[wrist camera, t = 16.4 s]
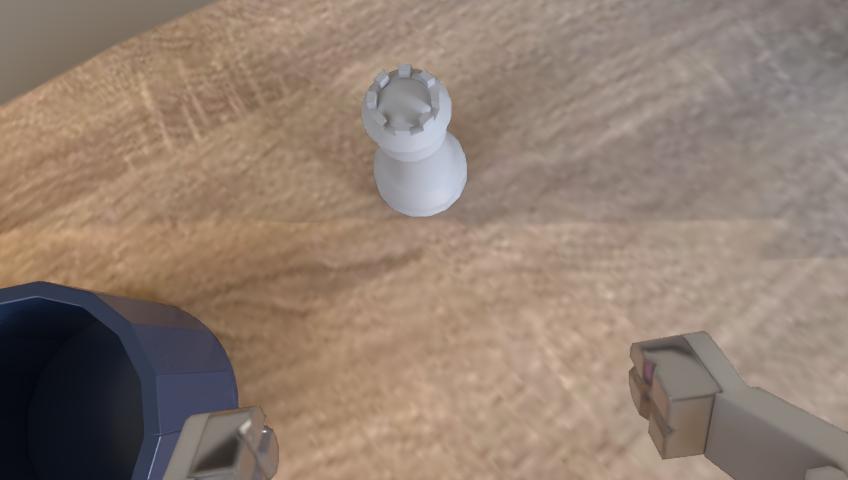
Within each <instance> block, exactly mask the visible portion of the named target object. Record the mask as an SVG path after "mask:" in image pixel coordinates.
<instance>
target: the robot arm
mask: <svg viewBox="0 0 848 480" xmlns="http://www.w3.org/2000/svg"><path fill="white" fill-rule="evenodd" d="M630 358H631V360H632V361H633V363H634V366H633V367H632V368H631V370H630V371H629V386H630V391H631V396H632V399H633V401H634V404H635V406H636V408H637V410H638V413H639V415H641V416H642V417H644V418H645V419H647V420H649V431H648V433H649V435H650V436H651V438H652V440H653V442H654V444H655V446H656V448H657V450H658V452H659V454H660V456H661V458H662V460H663V459H671V458H679V457H686V456H694V455H702V454H705V455H704V456H705V457H706V458H707V459H709V460H710V461H711V462H712V463H714V464H715V465H716V466H718V467H719V468H720V469H721V470H723V471H724V472H725V473H727V474H728V475H729V476H731V477H732V478H733V479H734V480H848V432H846V431H844V430H842V429H840V428H838V427H836V426H834V425H832V424H830V423H828V422H826V421H824V420H822V419H820V418H818V417H816V416H814V415H812V414H810V413H808V412H806V411H805V410H803V409H801V408H799V407H797V406H795V405H793V404H791V403H789V402H787V401H785V400H783V399H781V398H779V397H777V396H775V395H773V394H771V393H769V392H767V391H765V390H763V389H761V388H759V387H753V388H750V386H749V385H748V384H747V382H746V381H745V380H744V379H743V377H742V376H741V375H740V373H739V372H738V371H737V370H736V368H735V367H734V366H733V364H732V363H731V362H730V361H729V359H728V358H727V357H726V355H725V354H724V353H723V351H722V350H721V349H720V348H719V346H718V345H717V344H716V342H715V341H714V340H713V339H712V337H711V336H710V335H709V334H708V333H707V332H705V331H700V332H694V333H688V334H682V335H679V336H678V335H676V336H670V337H665V338H659V339H653V340H648V341H642V342H636V343H632V346H631V348H630ZM265 419H266V415H265V413H264V411H263V409H262V408H261V406H251V407H244V408H237V409H229V410H222V411H215V412H211V413H204V414H196V415H191V416H190V417H189V418H188V419H187V420H186V422H185V424H184V426H183V429H182V431H181V434H180V436H179V439H178V441H177V444H176V446H175V449H174V451H173V454H172V456H171V459H170V462H169V464H168V467H167V469H166V472H165V474H164V477H163V479H162V480H271V479H272V478H273V477H274V475H275V474H276V473H277V468H278V462H279V447H278V442H277V438H276V435H275V433H274V431H273V429H271V428H269V427H267V426H266V425H264V424H265Z"/></svg>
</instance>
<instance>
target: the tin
mask: <svg viewBox="0 0 848 480" xmlns="http://www.w3.org/2000/svg"><path fill="white" fill-rule="evenodd" d="M237 408H238V392H237V386H236V380H235V376H234V373H233V369H232V366H231V363H230V361H229V359H228V357H227V354H226V352H225V350H224V349H223V347H222V346H221V344H220V342H219V341H218V339H217V338H216V337H215V336H214V335H213V333H212V332H211V331H210V330H209V329H208V328H207V327H206V326H205V325H204V324H202V323H201V322H200V321H199V320H198V319H196V318H194V317H193V316H191V315H190V314H188V313H186V312H184V311H182V310H180V309H179V308H176V307H174V306H169V305H165V304H160V303H155V302H151V301H146V300H141V299H136V298H131V297H126V296H120V295H115V294H109V293H104V292H99V291H93V290H88V289H82V288H77V287H72V286H66V285H61V284H55V283H50V282H45V281H37V282H32V283H27V284H22V285H18V286H13V287H8V288H3V289H0V480H162V479H163V477H164V474H165V472H166V469H167V467H168V464H169V462H170V459H171V456H172V454H173V451H174V449H175V446H176V444H177V441H178V439H179V436H180V434H181V431H182V429H183V426H184V424H185V422H186V420H187V419H188V418H189V417H190V416H191V415H196V414H204V413H211V412H215V411H222V410H229V409H237Z"/></svg>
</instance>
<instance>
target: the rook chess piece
mask: <svg viewBox="0 0 848 480" xmlns="http://www.w3.org/2000/svg"><path fill="white" fill-rule="evenodd" d="M397 66H398V70H395V71H392V72H390V73H386V72H385V70H384V69H383V70H382V71H381V72H380V73H379V74H378V75H377V76H376V77H375V78H373V79H374V83H373V84H372V85H371V86H370V87H369V89H368V91H367V93H366V95H365V97H364V99H363V101H362V112H361V119H362V122H363V125H364V127H365V130H366V132H367V134H368V135H369V136H370V137H371V138H372V139H373V140H374V141H375V142H376V143H377V144H378V145H379V147H378V149H377V151H376V153H375V156H374V169H373V175H374V178H375V182H376V185H377V188H378V190H379V193H380V195H381V197H382V198H383V199H384V200H385V201H386V202H387V203H388V204H389V205H390V206H391V207H392V208H393V209H394V210H396V211H398V212H401V213H403V214H406V215H408V216H431V215H434V214H436V213H439V212H441V211H444V210H446V209H447V208H448V207H449V206H451V205H452V204H453V203H454V202H455V201H456V200H457V199H458V198H459V197H460V195H461V192H462V190H463V188H464V186H465V183H466V181H467V162H466V160H465V154H464V152H463V150H462V148H461V145H460V143H459V141H458V140H457V139H456V138H455V137H454V136H453V135H452V134H451V133H450V132H449V131H448V130H447V129H446V128H447V125H448V123H449V121H450V119H451V99H450V97H449V95H448V92H447V90H446V88H445V86H444V85H443V84H442V83H441V82H440V81H439V80H438V79H437V78H436V77H434V76H433V75H432V74H430V73H429V72H428V71H427V70H426V69H424V70H423V71H421V70H418V69H412V65H411V64H397Z"/></svg>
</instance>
